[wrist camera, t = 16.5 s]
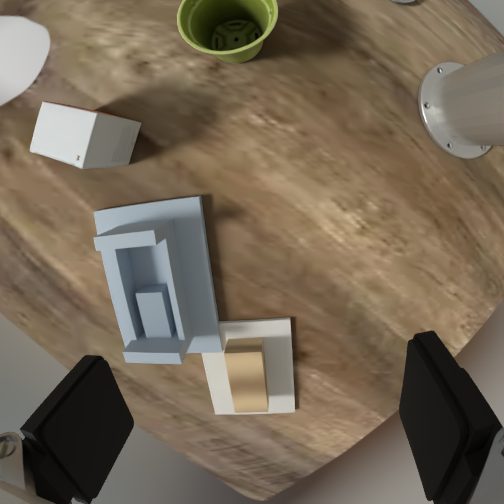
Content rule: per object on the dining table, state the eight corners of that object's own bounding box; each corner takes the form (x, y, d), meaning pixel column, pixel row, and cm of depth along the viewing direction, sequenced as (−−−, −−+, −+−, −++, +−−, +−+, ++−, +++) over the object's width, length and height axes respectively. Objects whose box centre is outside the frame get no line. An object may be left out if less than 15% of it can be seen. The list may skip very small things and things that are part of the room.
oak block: (227, 339, 41) (223, 353, 38) (262, 337, 41) (261, 351, 37) (237, 396, 44) (234, 412, 40) (268, 395, 43) (268, 411, 40)
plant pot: (282, 72, 32) (284, 46, 24) (201, 83, 33) (180, 62, 25) (271, 5, 30) (270, -31, 22) (194, 17, 31) (174, -15, 23)
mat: (289, 317, 40) (290, 319, 40) (294, 409, 44) (294, 412, 44) (196, 322, 41) (195, 324, 41) (216, 411, 45) (215, 414, 45)
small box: (143, 122, 35) (99, 112, 25) (129, 166, 37) (83, 170, 26) (91, 109, 35) (41, 99, 25) (79, 150, 36) (27, 151, 26)
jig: (98, 210, 38) (65, 221, 31) (201, 195, 37) (183, 203, 30) (130, 347, 43) (108, 376, 36) (223, 347, 42) (214, 381, 35)
